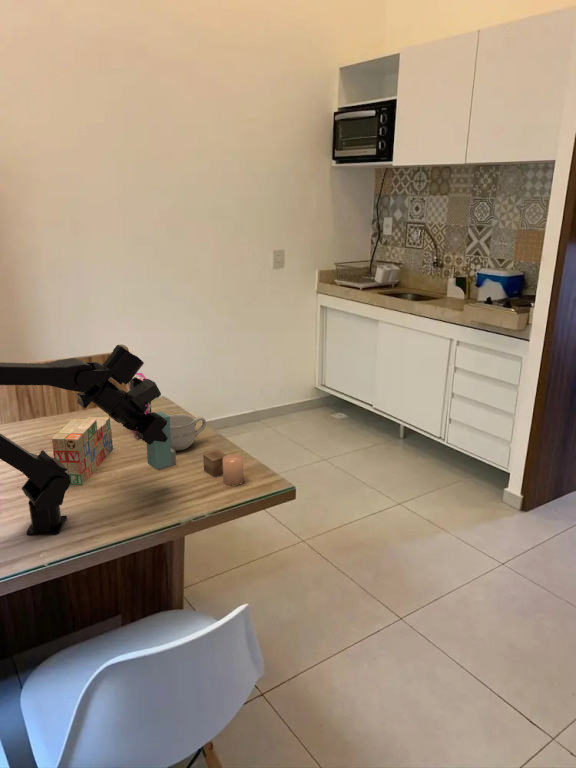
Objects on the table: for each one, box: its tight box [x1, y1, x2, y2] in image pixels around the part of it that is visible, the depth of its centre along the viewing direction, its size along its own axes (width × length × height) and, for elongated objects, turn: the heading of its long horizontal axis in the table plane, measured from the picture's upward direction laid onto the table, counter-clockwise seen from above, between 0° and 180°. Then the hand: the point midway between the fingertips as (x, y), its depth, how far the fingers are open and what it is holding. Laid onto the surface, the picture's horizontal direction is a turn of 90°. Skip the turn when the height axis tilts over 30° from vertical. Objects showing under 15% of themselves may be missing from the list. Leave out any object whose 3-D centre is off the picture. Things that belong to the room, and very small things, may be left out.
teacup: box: [167, 413, 207, 452], centre depth 159 cm, size 14×11×8 cm
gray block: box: [157, 448, 177, 471], centre depth 149 cm, size 5×5×4 cm
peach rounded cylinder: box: [222, 453, 245, 486], centre depth 140 cm, size 5×5×6 cm
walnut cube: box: [202, 449, 227, 478], centre depth 145 cm, size 4×4×4 cm
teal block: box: [146, 411, 171, 470], centre depth 133 cm, size 4×4×12 cm
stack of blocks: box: [51, 416, 114, 486], centre depth 146 cm, size 21×6×12 cm, turn 177°
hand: (161, 437), depth 133 cm, fingers closed on teal block, 4 cm apart
